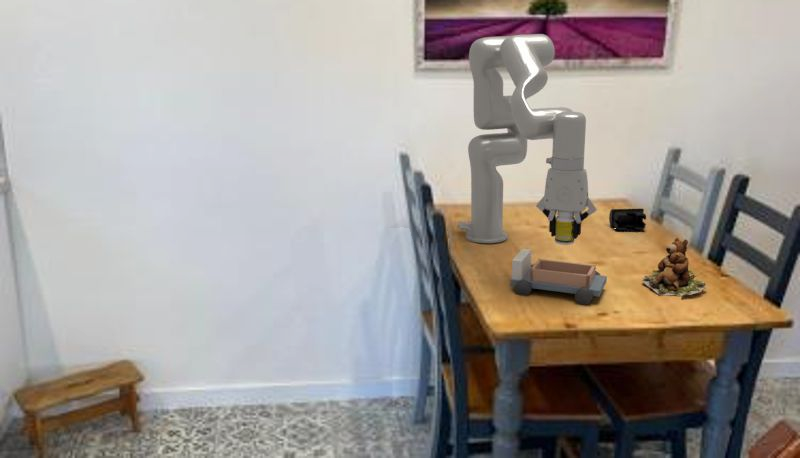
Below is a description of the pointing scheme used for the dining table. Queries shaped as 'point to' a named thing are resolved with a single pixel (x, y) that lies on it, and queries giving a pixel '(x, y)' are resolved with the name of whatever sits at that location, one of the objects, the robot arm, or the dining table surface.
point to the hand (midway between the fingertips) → (564, 235)
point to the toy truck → (556, 277)
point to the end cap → (627, 220)
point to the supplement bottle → (564, 228)
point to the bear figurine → (674, 273)
